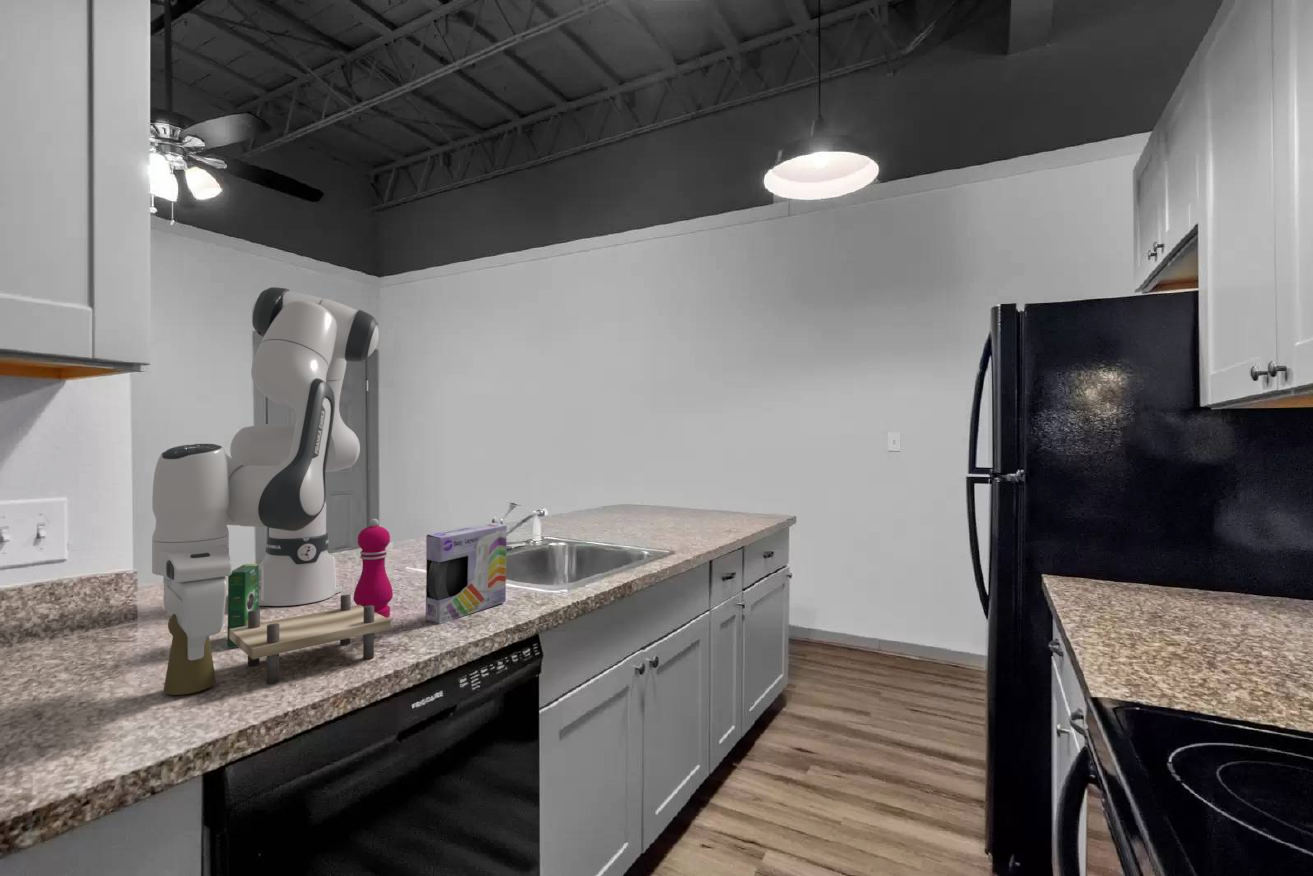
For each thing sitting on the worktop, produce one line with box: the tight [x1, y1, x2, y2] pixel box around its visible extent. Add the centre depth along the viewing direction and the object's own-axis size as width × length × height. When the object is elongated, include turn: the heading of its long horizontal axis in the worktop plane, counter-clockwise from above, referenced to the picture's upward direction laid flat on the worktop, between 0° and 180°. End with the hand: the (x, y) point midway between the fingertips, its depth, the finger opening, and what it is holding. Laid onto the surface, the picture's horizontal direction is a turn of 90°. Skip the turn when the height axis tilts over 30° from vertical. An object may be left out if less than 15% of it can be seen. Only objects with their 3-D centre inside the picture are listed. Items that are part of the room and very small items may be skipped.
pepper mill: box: [353, 518, 394, 619], centre depth 125 cm, size 7×7×20 cm
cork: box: [163, 614, 217, 696], centre depth 89 cm, size 6×6×11 cm
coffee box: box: [226, 563, 260, 649], centre depth 111 cm, size 8×3×13 cm, turn 17°
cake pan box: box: [425, 522, 508, 625], centre depth 129 cm, size 19×5×18 cm, turn 148°
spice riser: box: [229, 593, 392, 685], centre depth 101 cm, size 13×20×8 cm, turn 137°
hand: (190, 652), depth 89 cm, fingers open, 4 cm apart
